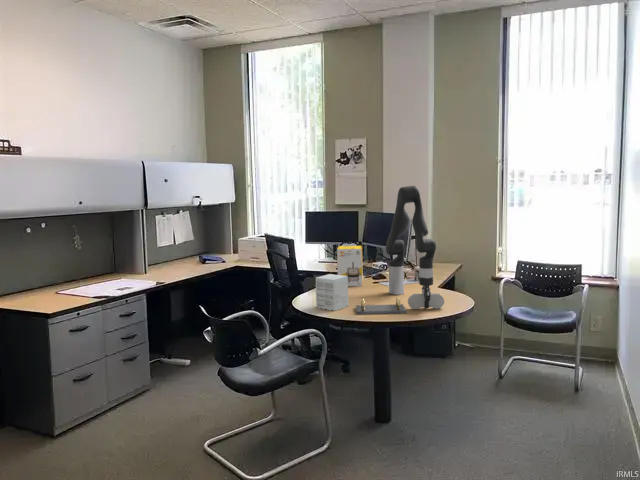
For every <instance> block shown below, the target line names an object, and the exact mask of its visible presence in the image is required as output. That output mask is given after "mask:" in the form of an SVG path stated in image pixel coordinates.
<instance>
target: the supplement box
mask: <svg viewBox="0 0 640 480" xmlns="http://www.w3.org/2000/svg"><path fill="white" fill-rule="evenodd" d="M315 303H316V305H315V307H318V308H317V309H320V308H322V309H321V310H325V309H327V310H326V311H331V310H333V311H332V312H336V311H339V310H342V309H344V308H348V307H349V286H348V276H343V275H338V274H332V273H328V274H325V275H324V274H323V275H321V276H316V277H315ZM341 308H342V309H341ZM338 309H339V310H338ZM335 310H336V311H335Z"/></svg>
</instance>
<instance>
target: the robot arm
mask: <svg viewBox="0 0 640 480" xmlns="http://www.w3.org/2000/svg"><path fill="white" fill-rule="evenodd" d="M396 199H397V200H396V206H395V210H394V211H395V212H394V215H393V219H392V223H391V228H390V231H389V234H388V238H387V240H386V244H385V252H386V254H387V255H389V256H396V257H395V258H393V259H391V260H389V261H388V282H389V286H388V293H389V294H390V295H395V296H396V295H403V294H405V284H404V280H405V267H404V265H405V264H404V263H405V241H404V240H402V239H398V238H399V237H401V236H402V235H403V234H404V233H405V232H406V231H407V229H408V227H409V223H410V216H409V214H408V212H407V211H406V208H405V207H406V206H405V205H406V204H411V203H413V204H414V212H413V216H412V221H411V222H412V228H413V231H414V233H415V234H414V236H415V248H416V251H417V252H418V253H421V254H424V253H425V255H424V256H420V258H419V266H418V267H420V268H419V283H418V285H420V286H422V287H421V294H423V296H424V301H425V307H424V309H430V307H429V301H430V295H431V294H432V293H431V288H430V287H431V286H433V285H434V269H433V267H434V265H433V264H434V263H433V262H434V257H435V254H436V253H435V252H436V250H437V244H436V242H435V240H434V239H432V238H427V239H425V238H424V237H427V236H428V234H429V230H428V227H427V223H426V221H425V215H424V210H423V204H422V200H421V199H422V198H421V194H420V189H419V188H418V186H416V185H407V186H402V187H400V188H399V189H398V192H397V197H396ZM426 298H428V299H426Z"/></svg>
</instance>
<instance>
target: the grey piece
mask: <svg viewBox="0 0 640 480" xmlns="http://www.w3.org/2000/svg"><path fill="white" fill-rule="evenodd" d="M426 299H428V298H426ZM407 304H408V306H409V307H410V309H413V310H418V309H422V308H425V301H424V296H423V294H422V293H413V294H411V295H410V296H409V297H408V299H407ZM444 305H445V299H444V297H443V295H442V294H440V293H437V292H432V293H431V295H430V301H429V308H433V309H436V310H437V309H442V307H443V306H444Z"/></svg>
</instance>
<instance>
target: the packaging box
mask: <svg viewBox="0 0 640 480" xmlns="http://www.w3.org/2000/svg"><path fill="white" fill-rule="evenodd" d="M336 260H337V261H336V262H337V263H336V264H337V266H336V267H337V275H343V276H348V287H363V281H364V280H363V279H364V278H363V277H364V275H363V273H364V272H363V245H338V247H337V249H336Z"/></svg>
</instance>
